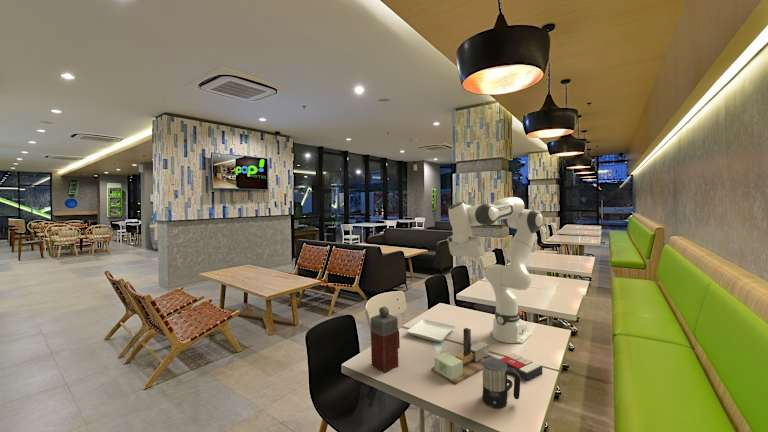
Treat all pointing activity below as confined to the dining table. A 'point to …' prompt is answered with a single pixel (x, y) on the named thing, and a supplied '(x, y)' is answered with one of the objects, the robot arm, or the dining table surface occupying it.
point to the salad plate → (431, 330)
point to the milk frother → (498, 382)
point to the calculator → (523, 366)
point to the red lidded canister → (384, 341)
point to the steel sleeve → (480, 351)
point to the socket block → (448, 365)
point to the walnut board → (465, 371)
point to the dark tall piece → (466, 347)
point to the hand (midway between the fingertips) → (469, 265)
